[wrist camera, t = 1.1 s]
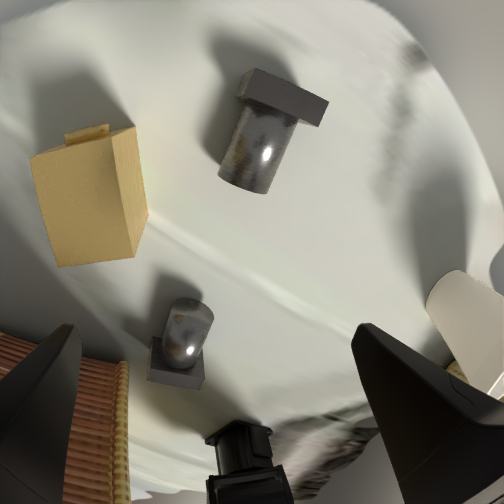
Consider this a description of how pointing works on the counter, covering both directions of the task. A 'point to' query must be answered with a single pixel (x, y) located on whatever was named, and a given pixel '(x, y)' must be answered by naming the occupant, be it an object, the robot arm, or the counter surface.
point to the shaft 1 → (181, 346)
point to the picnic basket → (90, 428)
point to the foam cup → (471, 328)
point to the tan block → (92, 195)
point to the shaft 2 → (266, 128)
